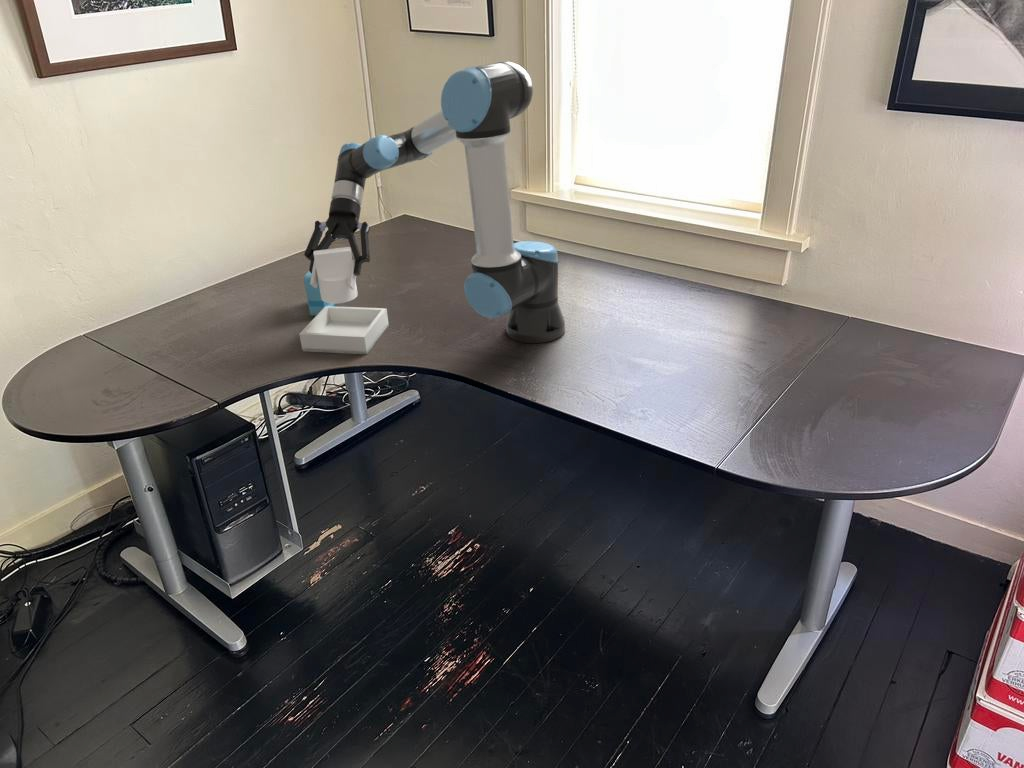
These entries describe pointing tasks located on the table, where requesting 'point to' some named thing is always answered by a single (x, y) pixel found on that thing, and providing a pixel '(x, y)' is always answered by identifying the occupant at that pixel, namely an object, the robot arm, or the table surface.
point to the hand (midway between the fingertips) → (332, 286)
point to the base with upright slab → (334, 275)
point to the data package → (314, 297)
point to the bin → (344, 330)
